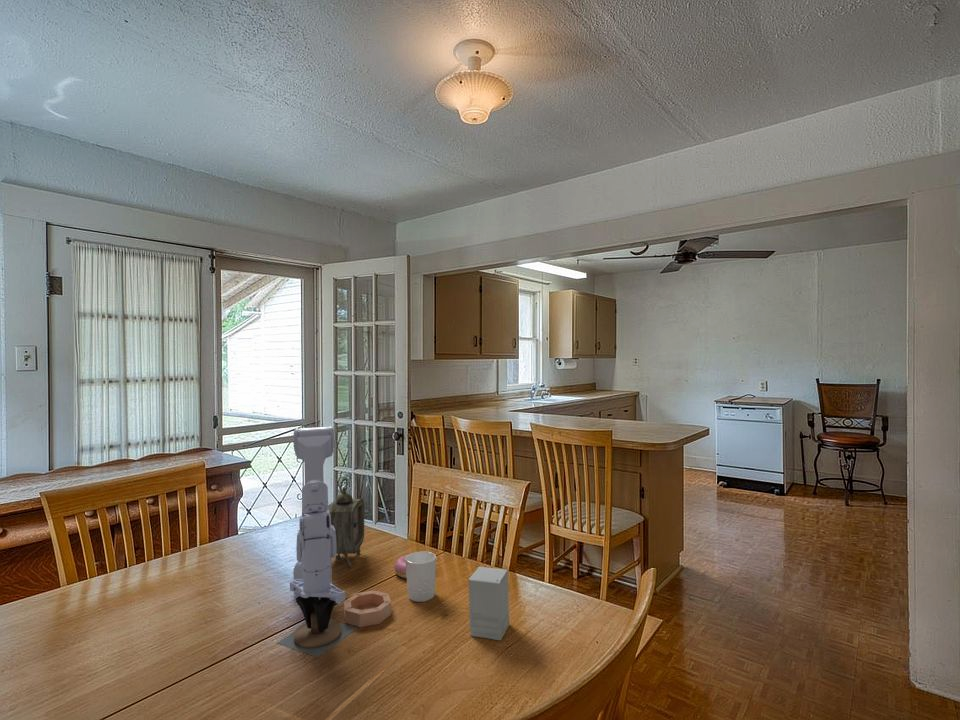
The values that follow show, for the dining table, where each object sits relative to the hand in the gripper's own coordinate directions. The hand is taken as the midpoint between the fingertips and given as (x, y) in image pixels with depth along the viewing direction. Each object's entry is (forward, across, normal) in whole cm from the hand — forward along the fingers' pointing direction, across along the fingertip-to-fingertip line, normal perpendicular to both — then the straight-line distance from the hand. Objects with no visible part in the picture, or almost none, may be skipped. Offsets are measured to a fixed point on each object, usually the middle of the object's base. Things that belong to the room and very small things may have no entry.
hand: (317, 628), depth 111 cm
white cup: (+2, +10, +26) cm, 28 cm away
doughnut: (+3, 0, +37) cm, 37 cm away
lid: (+2, 0, 0) cm, 2 cm away
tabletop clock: (+2, -24, +35) cm, 43 cm away
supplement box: (+2, +33, +19) cm, 38 cm away
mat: (+2, 0, 0) cm, 2 cm away
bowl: (+2, +4, +12) cm, 13 cm away
